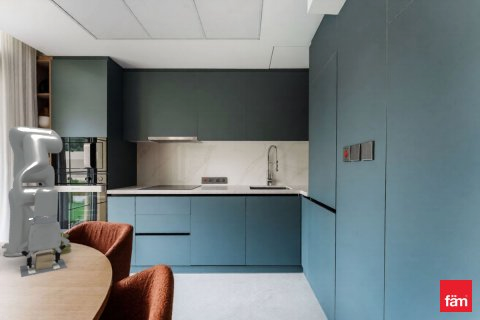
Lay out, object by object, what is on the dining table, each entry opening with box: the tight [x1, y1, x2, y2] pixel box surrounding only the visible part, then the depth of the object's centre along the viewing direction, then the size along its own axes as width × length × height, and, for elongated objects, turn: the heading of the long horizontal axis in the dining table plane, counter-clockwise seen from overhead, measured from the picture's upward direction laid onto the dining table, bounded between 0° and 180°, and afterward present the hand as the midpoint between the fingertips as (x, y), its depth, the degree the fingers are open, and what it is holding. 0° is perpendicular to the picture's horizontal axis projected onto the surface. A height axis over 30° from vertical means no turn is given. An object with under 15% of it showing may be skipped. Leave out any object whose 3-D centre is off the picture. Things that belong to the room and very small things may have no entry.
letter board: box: [19, 258, 68, 278], centre depth 103 cm, size 14×14×1 cm
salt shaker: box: [51, 232, 72, 256], centre depth 121 cm, size 7×7×10 cm
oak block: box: [34, 251, 54, 270], centre depth 103 cm, size 5×5×5 cm
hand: (43, 264), depth 103 cm, fingers open, 7 cm apart
